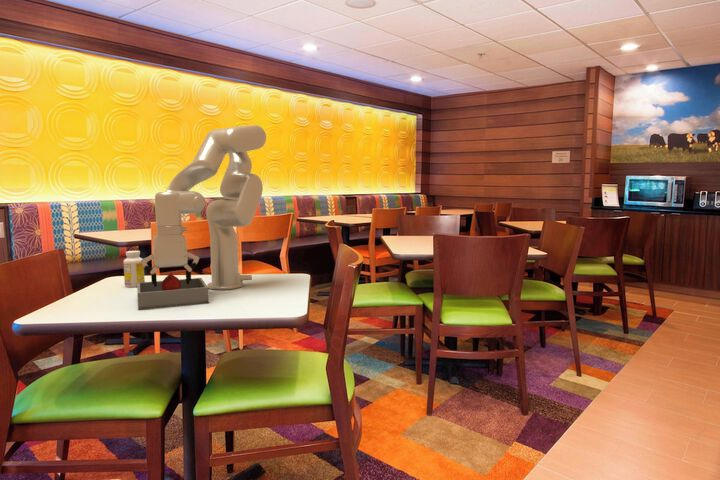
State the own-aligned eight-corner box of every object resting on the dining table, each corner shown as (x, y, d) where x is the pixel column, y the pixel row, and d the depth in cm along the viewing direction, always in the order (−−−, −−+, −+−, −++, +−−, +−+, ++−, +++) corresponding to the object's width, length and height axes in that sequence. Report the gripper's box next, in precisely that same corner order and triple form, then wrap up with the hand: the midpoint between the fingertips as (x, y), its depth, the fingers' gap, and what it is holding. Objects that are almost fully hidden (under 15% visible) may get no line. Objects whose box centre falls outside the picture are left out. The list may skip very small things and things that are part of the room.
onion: (175, 298, 151) (173, 272, 151) (158, 299, 152) (156, 273, 152) (185, 295, 157) (183, 271, 157) (169, 296, 158) (167, 272, 158)
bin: (201, 292, 167) (201, 277, 166) (208, 303, 150) (208, 287, 150) (138, 297, 158) (137, 282, 158) (138, 310, 142) (137, 293, 142)
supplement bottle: (145, 283, 182) (144, 249, 181) (143, 287, 176) (142, 252, 174) (126, 284, 180) (124, 250, 179) (123, 288, 174) (121, 252, 172)
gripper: (196, 229, 159) (198, 280, 161) (139, 231, 152) (141, 284, 154) (199, 231, 152) (201, 284, 154) (139, 233, 145) (142, 289, 147)
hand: (171, 284), depth 154 cm, fingers open, 9 cm apart
